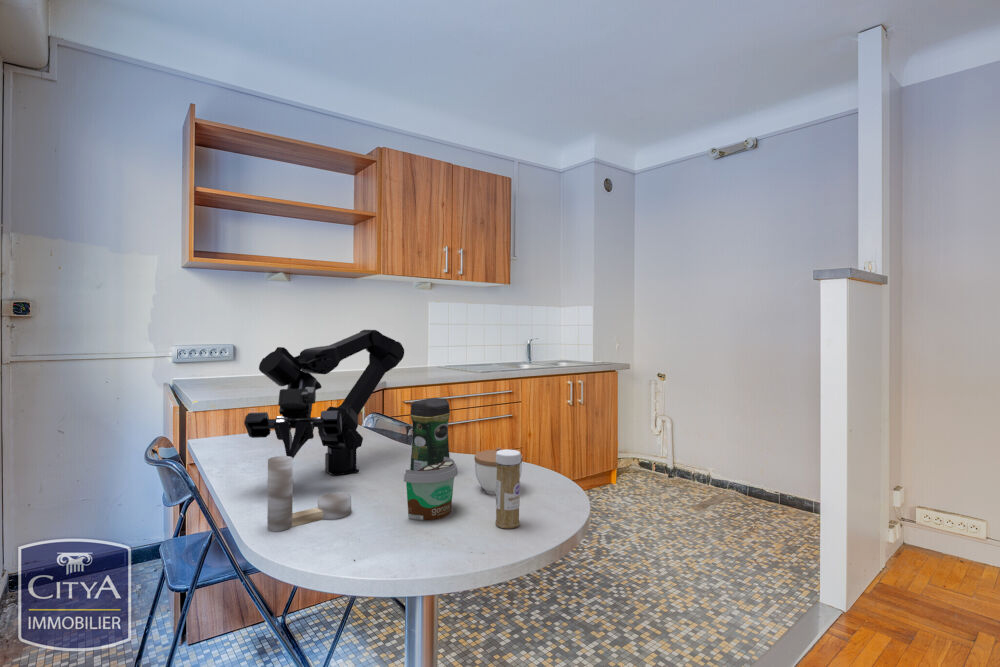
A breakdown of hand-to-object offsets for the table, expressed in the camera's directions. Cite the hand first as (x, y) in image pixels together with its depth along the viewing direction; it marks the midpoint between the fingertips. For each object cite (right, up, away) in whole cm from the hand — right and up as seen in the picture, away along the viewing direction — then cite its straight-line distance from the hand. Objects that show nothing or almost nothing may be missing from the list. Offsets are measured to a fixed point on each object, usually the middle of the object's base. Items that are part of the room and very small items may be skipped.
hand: (289, 459), depth 102 cm
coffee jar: (+25, -9, +22) cm, 35 cm away
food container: (+31, -10, -6) cm, 33 cm away
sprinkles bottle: (+44, -10, -9) cm, 46 cm away
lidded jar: (+42, -10, +11) cm, 44 cm away
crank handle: (+8, -9, -9) cm, 15 cm away
